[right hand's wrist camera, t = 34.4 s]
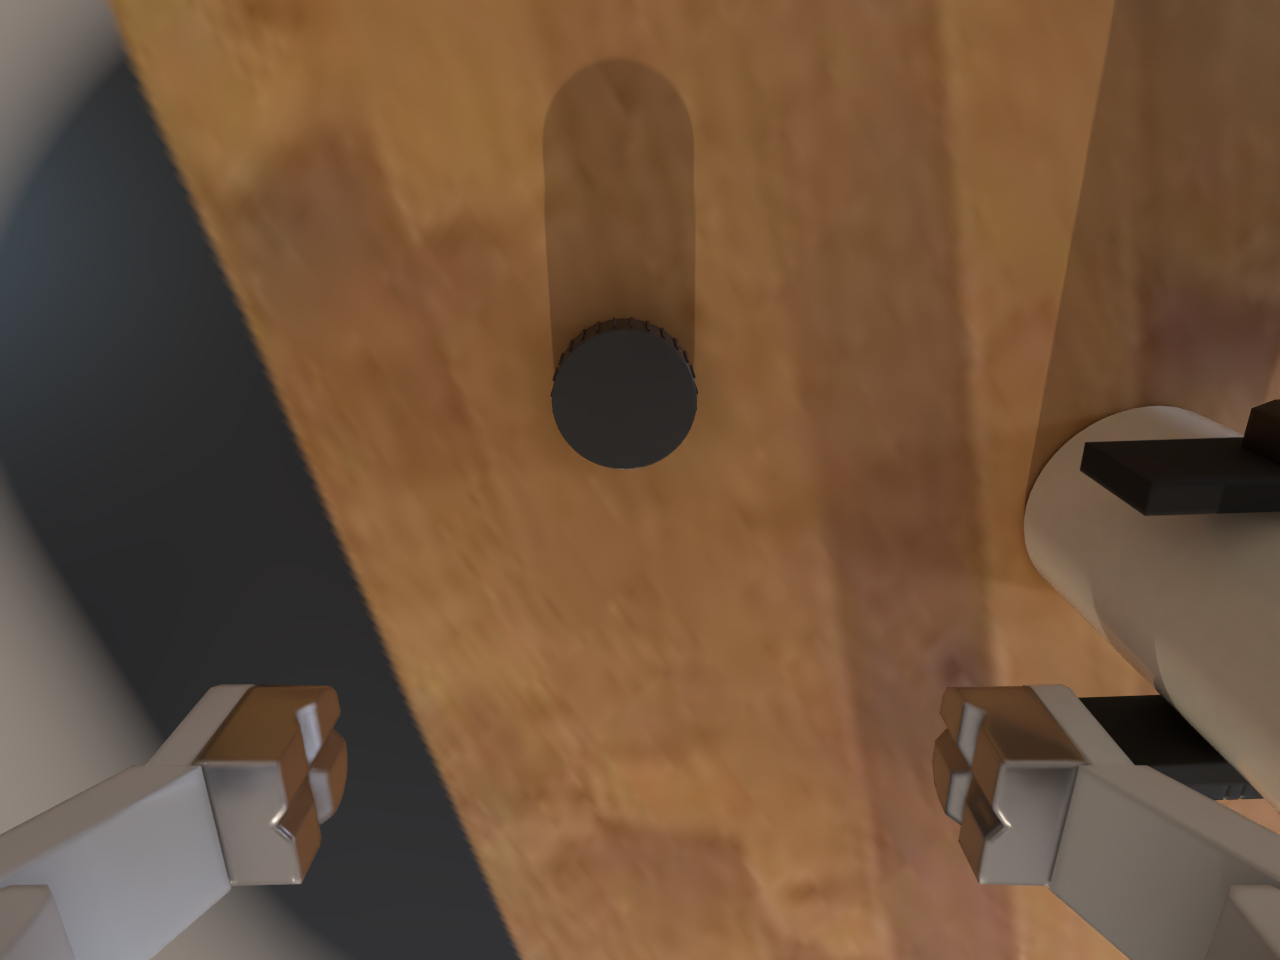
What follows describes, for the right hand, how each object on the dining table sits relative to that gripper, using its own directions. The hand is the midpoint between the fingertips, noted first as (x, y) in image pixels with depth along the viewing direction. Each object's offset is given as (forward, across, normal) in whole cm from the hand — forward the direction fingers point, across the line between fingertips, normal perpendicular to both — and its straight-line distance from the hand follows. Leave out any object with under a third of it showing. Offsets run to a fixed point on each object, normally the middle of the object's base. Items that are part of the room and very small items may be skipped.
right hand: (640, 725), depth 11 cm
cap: (+13, 0, +1) cm, 13 cm away
